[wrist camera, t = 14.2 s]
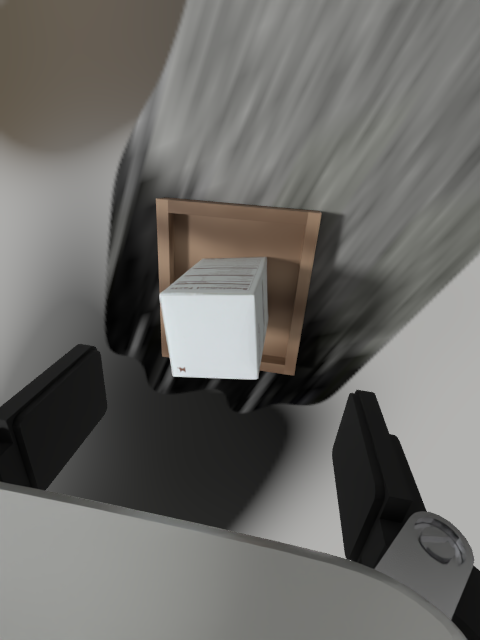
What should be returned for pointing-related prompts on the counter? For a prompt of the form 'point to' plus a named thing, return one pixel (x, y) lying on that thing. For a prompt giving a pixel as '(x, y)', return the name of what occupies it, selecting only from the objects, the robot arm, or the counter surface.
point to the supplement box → (217, 318)
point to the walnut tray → (242, 242)
